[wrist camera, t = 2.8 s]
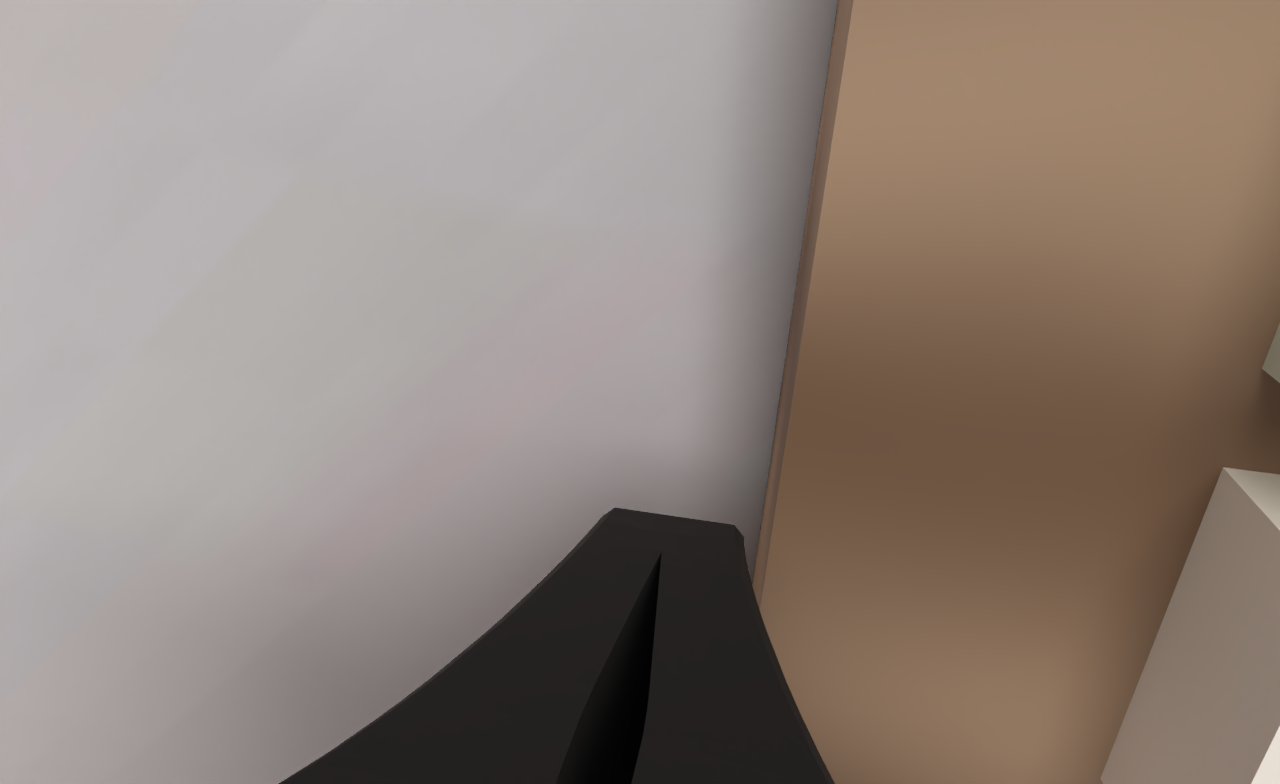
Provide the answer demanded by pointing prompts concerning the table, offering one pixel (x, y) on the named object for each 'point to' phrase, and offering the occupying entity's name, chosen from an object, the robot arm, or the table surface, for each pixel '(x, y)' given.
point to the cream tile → (1214, 654)
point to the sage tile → (1273, 358)
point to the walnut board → (1016, 370)
